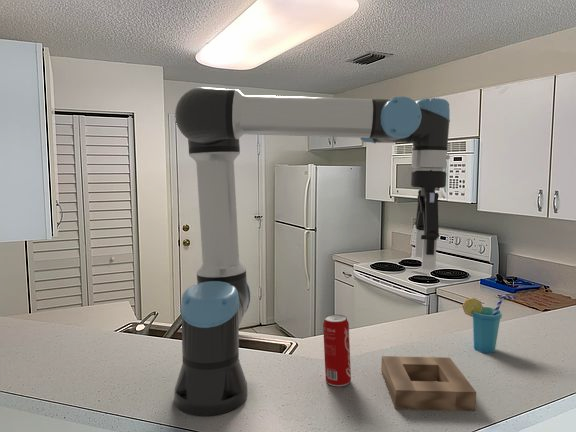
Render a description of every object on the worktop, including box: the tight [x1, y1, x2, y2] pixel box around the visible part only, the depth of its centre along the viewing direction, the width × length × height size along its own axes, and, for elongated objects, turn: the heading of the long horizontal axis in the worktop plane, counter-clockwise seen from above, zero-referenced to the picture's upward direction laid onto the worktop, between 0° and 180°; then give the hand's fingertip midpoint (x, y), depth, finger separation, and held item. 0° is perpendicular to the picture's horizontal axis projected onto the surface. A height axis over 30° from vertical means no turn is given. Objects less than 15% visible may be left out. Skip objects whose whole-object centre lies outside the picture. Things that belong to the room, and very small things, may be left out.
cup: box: [461, 294, 517, 354], centre depth 118 cm, size 14×8×15 cm, turn 96°
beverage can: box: [322, 314, 352, 387], centre depth 99 cm, size 6×6×15 cm
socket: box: [380, 355, 477, 412], centre depth 96 cm, size 16×16×4 cm
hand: (424, 262), depth 101 cm, fingers open, 13 cm apart
